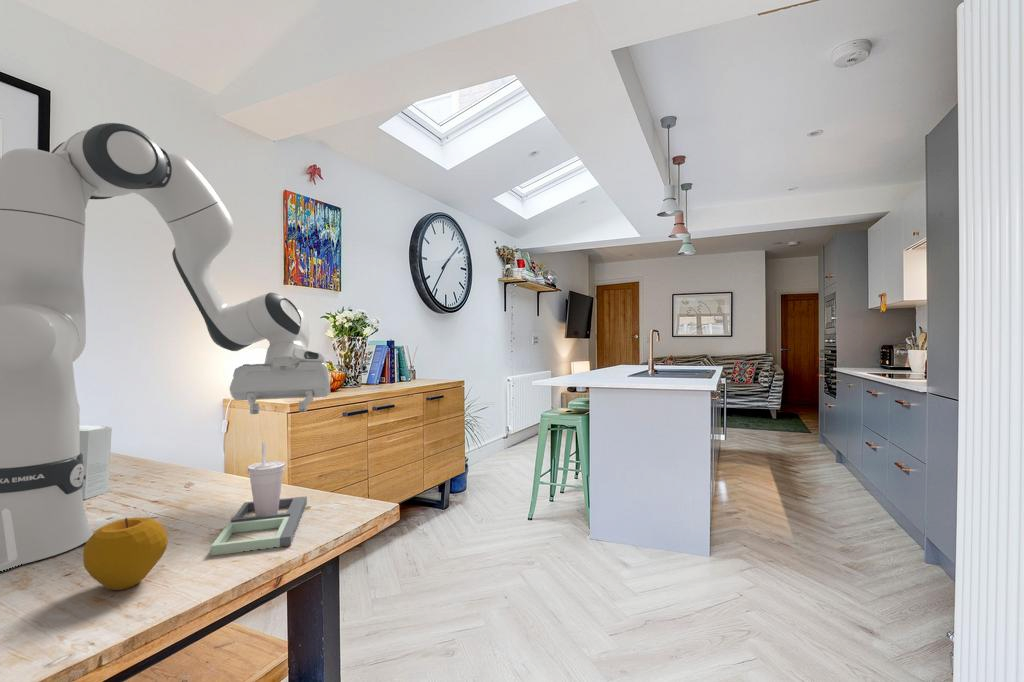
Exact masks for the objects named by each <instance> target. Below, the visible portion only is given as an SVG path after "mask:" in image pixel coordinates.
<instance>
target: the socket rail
mask: <svg viewBox="0 0 1024 682" xmlns="http://www.w3.org/2000/svg"><path fill="white" fill-rule="evenodd" d="M307 499H308V497H307V496H298V497H287V498H280V500H279V508H278V509H280V507H282V508H288V509H287V511H286V512H281V513H280V512H279V513H278V514H270V515H260V516H255V515H251V516H246V515H247V513H248V512H250V511H251V512H252V511H255V509H254V502H253V501H245V502H244V503H243V504H242V505H241V507H240V508H239V509H238V510H237V512H236V513H235V514H234V515H233V517H232V519H230V522H228V523H227V525H226V526H225V527H224V529H222V531H221V532H220V534H219V535H218V536H217V538H216V539H215V540H214V542H212V544H211V545H210V557H212V556H220V555H225V554H226V555H227V554H235V553H244V552H243V551H245V552H251V551H250V550H253V551H258V550H257V549H261V550H266V548H269V549H274V548H273V547H277V548H282V547H281V546H285V547H290V545H291V546H292V544H293V540H294V539H293V538H295V536H294V535H296V533H297V531H296V530H298V528H299V525H300V523H301V520H302V517H303V515H302V514H304V512H305V510H304V509H306V507H305V506H307V504H308V502H307V501H308V500H307ZM300 519H301V520H300ZM299 522H300V523H299ZM297 527H298V528H297ZM270 529H271V530H272V529H278V530H277V531H276V534H275V535H274V536H267V537H260V538H250V539H243V540H241V539H240V540H234V541H228V540H229V539H230V538H231V536H232V535H233V534H234V533H242V532H251V531H252V532H253V531H263V530H270ZM295 532H296V533H295ZM291 543H292V544H291Z"/></svg>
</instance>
